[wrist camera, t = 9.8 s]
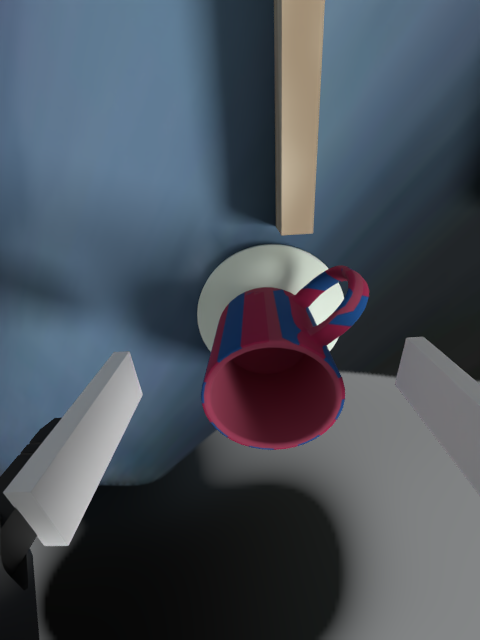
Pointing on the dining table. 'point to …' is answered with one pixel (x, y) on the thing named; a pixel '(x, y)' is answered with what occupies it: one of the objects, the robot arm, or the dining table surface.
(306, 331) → the mug
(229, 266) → the white round flat disc
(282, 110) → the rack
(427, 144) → the dining table surface
